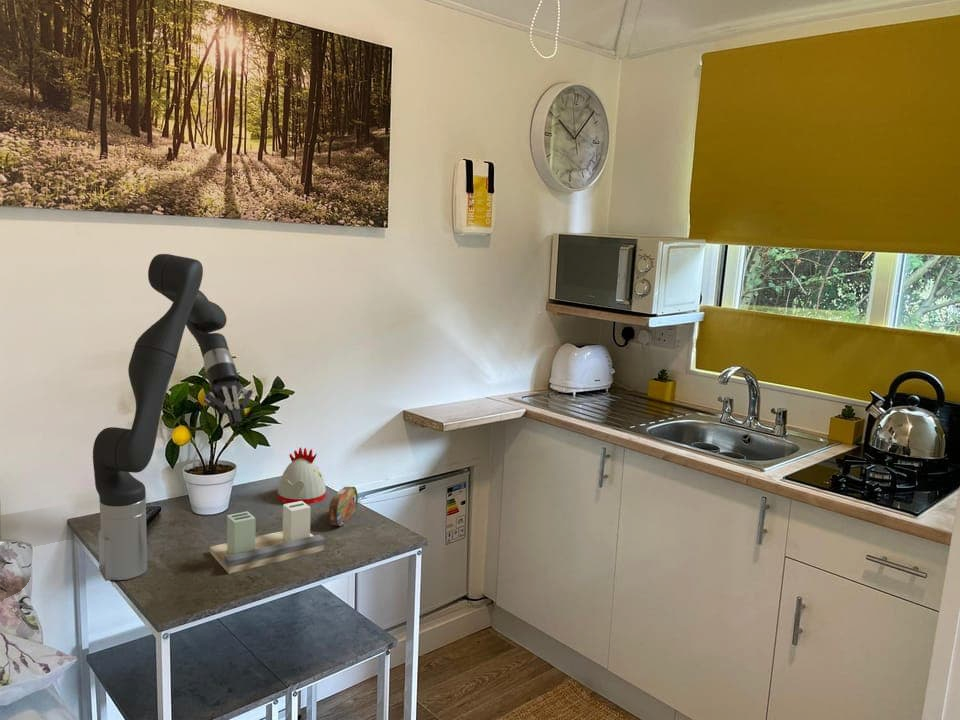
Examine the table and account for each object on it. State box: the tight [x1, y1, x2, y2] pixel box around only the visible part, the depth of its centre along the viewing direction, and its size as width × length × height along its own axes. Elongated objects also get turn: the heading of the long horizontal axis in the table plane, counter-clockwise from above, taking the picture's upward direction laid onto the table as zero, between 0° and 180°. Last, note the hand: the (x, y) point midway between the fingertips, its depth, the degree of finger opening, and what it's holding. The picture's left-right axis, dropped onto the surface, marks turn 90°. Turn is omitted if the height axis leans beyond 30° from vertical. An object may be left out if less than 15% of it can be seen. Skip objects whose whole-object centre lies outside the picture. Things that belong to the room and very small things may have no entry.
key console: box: [209, 530, 326, 575], centre depth 178 cm, size 24×13×3 cm, turn 128°
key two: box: [226, 510, 257, 555], centre depth 173 cm, size 5×5×9 cm
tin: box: [328, 486, 359, 527], centre depth 200 cm, size 15×3×8 cm, turn 168°
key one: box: [282, 501, 311, 542], centre depth 181 cm, size 5×5×9 cm
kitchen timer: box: [277, 446, 327, 505], centre depth 215 cm, size 14×14×15 cm
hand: (237, 424), depth 187 cm, fingers closed
